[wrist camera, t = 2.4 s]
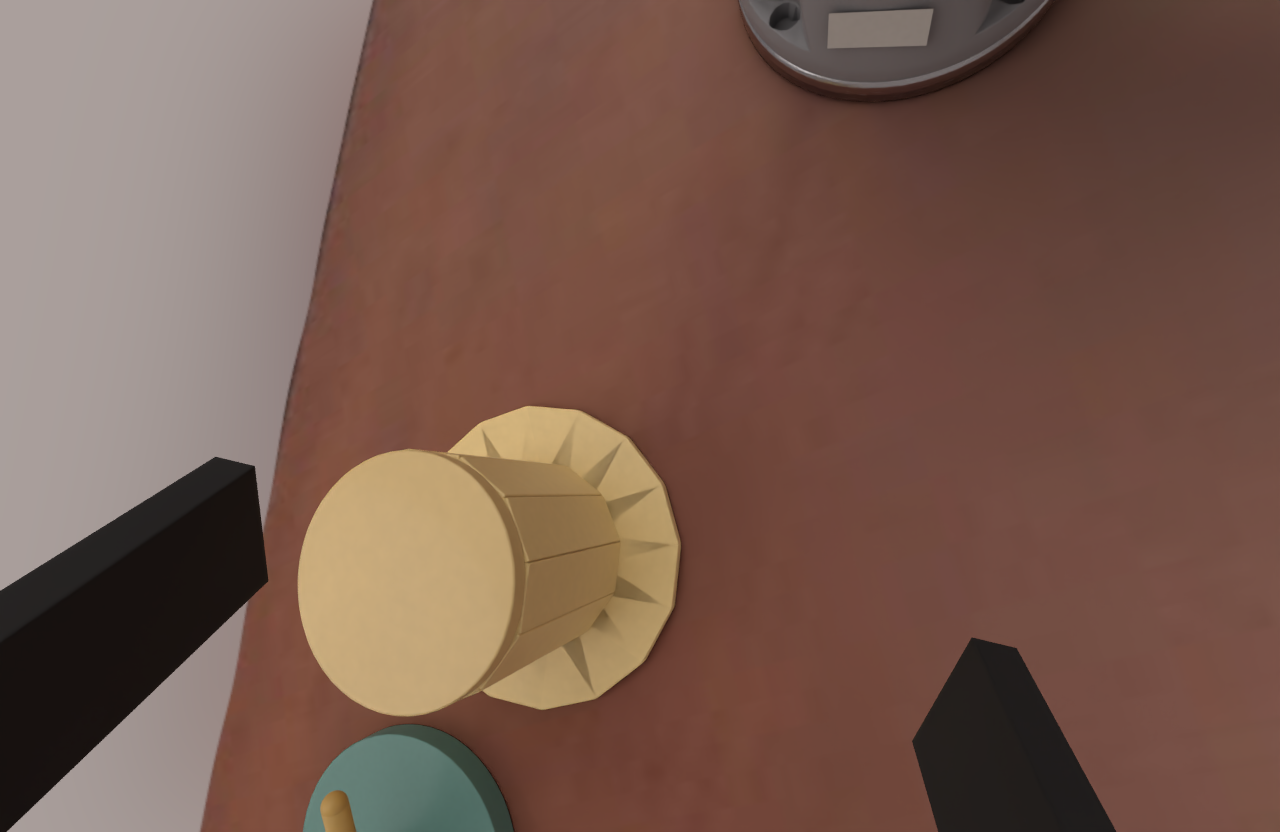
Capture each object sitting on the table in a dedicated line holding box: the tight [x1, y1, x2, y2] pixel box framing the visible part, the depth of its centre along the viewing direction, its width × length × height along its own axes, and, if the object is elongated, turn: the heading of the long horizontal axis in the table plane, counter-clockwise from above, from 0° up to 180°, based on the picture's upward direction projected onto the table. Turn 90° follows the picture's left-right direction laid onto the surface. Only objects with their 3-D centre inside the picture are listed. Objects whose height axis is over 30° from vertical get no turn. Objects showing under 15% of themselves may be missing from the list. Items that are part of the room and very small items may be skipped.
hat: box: [298, 406, 681, 716], centre depth 27 cm, size 15×15×11 cm
